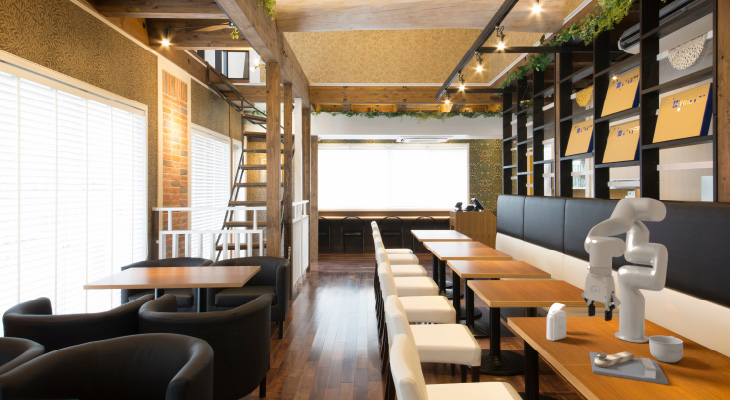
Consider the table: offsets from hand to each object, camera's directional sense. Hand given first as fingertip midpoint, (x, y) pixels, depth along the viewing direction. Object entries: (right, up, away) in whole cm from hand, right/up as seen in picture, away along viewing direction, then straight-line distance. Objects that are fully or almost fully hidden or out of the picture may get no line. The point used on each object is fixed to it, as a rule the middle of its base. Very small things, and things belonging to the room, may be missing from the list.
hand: (599, 317), depth 167 cm
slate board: (+5, -16, -9) cm, 19 cm away
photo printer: (-6, -15, +23) cm, 29 cm away
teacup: (+26, -16, 0) cm, 31 cm away
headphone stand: (-1, -15, +34) cm, 38 cm away
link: (+2, -14, -6) cm, 16 cm away
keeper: (+8, -16, -15) cm, 23 cm away
